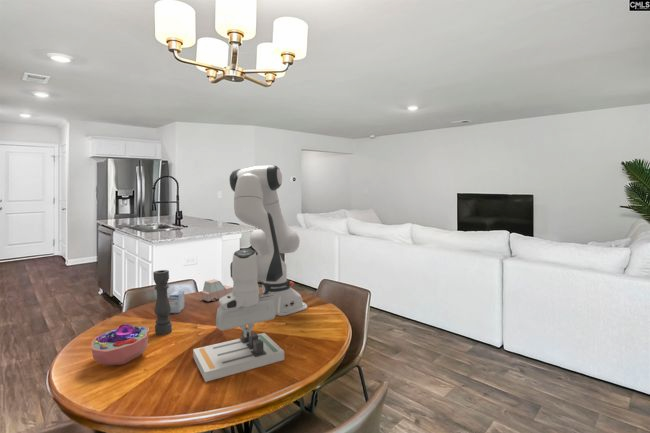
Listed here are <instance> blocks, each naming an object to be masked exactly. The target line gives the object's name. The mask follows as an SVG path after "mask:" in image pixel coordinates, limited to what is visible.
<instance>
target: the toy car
mask: <svg viewBox="0 0 650 433" xmlns="http://www.w3.org/2000/svg"><path fill="white" fill-rule="evenodd" d="M232 289H233V286H229V285H227V284H225V285H224V284H223V283H222V282H221V281H220V280H218V279H209V280H205V281H204V285H203V289H202V290H201V291H200V296H201V299H202V300H204V301H206V302H211V301H212V302H213V303H215V302H216V301H217V300H219V299H220V298H221V297H224V296H226V295H228V294H230V293H231V292H233V291H232Z"/></svg>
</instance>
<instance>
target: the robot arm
mask: <svg viewBox="0 0 650 433" xmlns="http://www.w3.org/2000/svg"><path fill="white" fill-rule="evenodd" d="M282 182H283V174H282V172H281V170H280V168H279V167H278V166H277V165H275V164H268V165H255V166H252V167H251V166H250V167H249V166H248V167H245V168H242V169H241V168H238V169H235V170H233V171H232V172H231V174H230V175H229V186H230V188H231V190H232V191H233V192H234V194H233V209H234V210H233V211H234V215H235V217H236V218H237V219H238V220H239V221H240V222H242V223H244V224H246V225H248V226H250V227H253V228H257V229H255V230H253V231H252V233H251V234H250V237H249V244H250V245H251V247H252V248H253V249H254V250H253V249H250V248H243V249H241V248H240V249H239V250H236V251H235V252H234V253H233V254H232V261H231V263H230V265H229V266H230V267H229V268H230V279H232V283H233V284H232V287H233V289H232V292H231V293H230V294H228V295H226V296H224V297H221V298H219V299H218V305H219V306H218V307H217V310H216V314H215V316H216V318H215V324H216V325H215V326H216V328H217V329H218V330H219V331H225V330H230V329H235V328H240V329H241V331H242V330H243V331H244V337H249V336H251V333H252V331H253V328H254V326H255V325H254V324H258V323H262V322H266V321H267V322H268V321H272V320H274V319H275V317H276V316H280V317H284V316H287V315H292V314H294V313H299V312H301V311H304V310H307V309H308V305H307V303H305V302H303V298H302V295H301V293H300V292H298V291H296V290H295V289H293V288H292V287H294V285H295V282H293V281H292V280H291V281H290V280H288V279H287V277H288V275H287V269H288V268H287V264H286V262H285V261H284V260H283V259H282V255H281V254H291V253H295V252H296V251H297V250H298V248H299V247H300V246H299V245H300V243H301V242H300V237H299V235H298V233H297V232H296V231H294V230H293V229H292V228H291V226H289V225H288V223H287V222H286V221H285V220H286V219H285V218H284V217H283V213H282V209H281V205H280V200H279V196H278V191H277V190H278V189H279V188H280V187H281V186H282ZM258 282H262V286H261V289H262V290H261V292H262V294H260V286H259V283H258ZM247 326H248V329H247V330H245V329H244V328H247Z"/></svg>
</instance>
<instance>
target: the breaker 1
mask: <svg viewBox="0 0 650 433" xmlns="http://www.w3.org/2000/svg"><path fill="white" fill-rule="evenodd" d="M248 327H249V326H248ZM248 327H247V326H246V328H244V329H245V330H247V329H248ZM239 339H240V340H241V341H242V343H246V342H249V337H244V331H243V330H242V329H241V337H240V338H239Z"/></svg>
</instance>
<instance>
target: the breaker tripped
mask: <svg viewBox="0 0 650 433" xmlns="http://www.w3.org/2000/svg"><path fill="white" fill-rule="evenodd" d="M254 340H258V335H257V333H256V332H253V333H252V332H251V336H249V344H246V345H247V346H248V348H249V349H253V341H254Z"/></svg>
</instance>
